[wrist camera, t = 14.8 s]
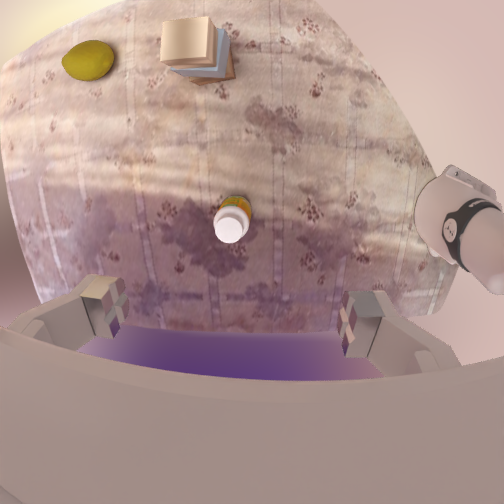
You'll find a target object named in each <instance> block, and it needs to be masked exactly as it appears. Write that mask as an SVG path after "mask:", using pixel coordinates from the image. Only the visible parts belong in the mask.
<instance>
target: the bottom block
mask: <svg viewBox="0 0 504 504" xmlns="http://www.w3.org/2000/svg"><path fill="white" fill-rule="evenodd" d="M230 79H236V78H235V72H234V66H233V60H232V54H231V48H229V54H228V60H227V67H226V73H225V78H214V77H189V80H190V81H191V82H193V83H195V84H197V85H199V86H200V85H204V84H209V83H214V82H219V81H224V80H230Z"/></svg>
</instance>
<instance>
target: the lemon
mask: <svg viewBox="0 0 504 504" xmlns="http://www.w3.org/2000/svg"><path fill="white" fill-rule="evenodd" d="M113 61H114V54H113V52H112V49H111V48H110V47H109V46H108V45H107V44H105V43H103V42H101V41H98V40H89V41H85V42H82V43H80V44H78V45H76V46H75V47H73V48H72V49H71V50H70V51H69V52H68V53H67V54H66V55H65V56H64V57H63V58H62V65H63V67H64V69H65V70H66V72H67V73H68V74H69V75H70V76H71V77H73V78H75V79H77V80H82V81H93V80H97V79H99V78H101V77H102V76H104V75H105V74H106V73H107V72H108V71H109V69H110V68H111V66H112V64H113Z"/></svg>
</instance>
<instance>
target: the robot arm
mask: <svg viewBox="0 0 504 504" xmlns="http://www.w3.org/2000/svg"><path fill="white" fill-rule="evenodd" d="M455 173H457V174H456V175H455ZM414 220H415V226H416V229H417V232H418V234H419V235H420V237H421V238H422V239H423V240H424V241H425V243H426V244H427V247H428V251H429V253H430V254H431V255H432V256H433V257H437V256H441V257H442V258H444V259H445V260H446V261H447V262H449V263H450V264H452V265H454V264H458V265H459V266H460V267H462V268H463V269H464V270H466V271H467V272H470V273H472V274H473V275H474V276H475V277H476V278H477V279H478V280H479V281H480V282H481V283H482V285H483V286H484V287H485V288H486V289H487V290H488V291H489V292H491V293H493V294H497V295H504V213H503V212H502V206H501V204H500V203H499V202H497V201H496V193H495V190H494V189H492V188H491V187H489V186H488V185H486V184H485V183H483V182H481V181H480V180H478V179H476V178H475V177H473V176H471V175H469V174H468V173H466V172H464V171H462V170H461V169H459V168H457V167H455V166H453V165H449V166H448V167H446V169H445V170H444V171H443V173H442V174H441V175H440V176H439V177H437V178H435V179H433V180H432V181H431V182H429V183H428V184H427V185H426V186H425V188H424V189H423V190H422V192H421V193H420V195H419V197H418V200H417V203H416V207H415V213H414ZM125 288H126V287H125V283H124V280H123V279H122V278H121V277H113V276H105V275H97V274H88V275H87V276H86V277H85V278H84V279H83V280H82V281H81V282H80V283H79V284H78V285H77V286H76V287H75V288H74V289H73V290H72V291H71V292H70V293H69V294H64V295H62V296H60V297H57V298H55V299H53V300H50V301H48V302H46V303H43V304H41V305H39V306H37V307H34V308H32V309H30V310H28V311H25V312H23V313H21V314H20V315H19V316H18V317H17V318H16V319H15V320H14V321H13V322H12V323H11V324H10V325H9V326H8V327H7V328H4V327H1V326H0V504H504V356H503V357H499V358H495V359H491V360H487V361H483V362H478V363H474V364H469V365H465V366H461V364H460V362H459V360H458V358H457V357H456V355H455V353H454V351H453V350H452V348H451V347H450V346H449V345H447V344H446V343H444V342H443V341H441V340H440V339H438V338H436V337H435V336H433V335H432V334H430V333H429V332H427V331H425V330H424V329H422V328H421V327H419V326H417V325H416V324H414V323H413V322H411V321H409V320H408V319H406V318H405V317H403V316H399V315H398V313H397V311H396V310H395V308H394V306H393V304H392V302H391V301H390V299H389V297H388V295H387V294H386V292H385V291H345V292H344V295H343V298H342V303H343V306H344V307H343V308H342V309H341V310H340V311H339V316H338V325H337V327H338V333H339V336H340V337H341V338H342V339H343V341H342V349H343V353H344V356H345V358H362V357H367V359H368V360H369V361H370V362H371V363H372V364H373V365H374V366H375V367H376V368H377V369H378V370H379V371H380V372H381V373H382V374H383V375H384V376H385V377H382V378H371V379H357V380H337V381H274V380H252V379H237V378H224V377H213V376H205V375H196V374H188V373H180V372H173V371H167V370H160V369H154V368H149V367H142V366H137V365H133V364H128V363H122V362H118V361H114V360H109V359H105V358H100V357H96V356H92V355H88V354H84V353H81V352H77V351H76V350H78V349H79V348H80V347H82V346H83V345H85V344H86V343H87V342H89V341H90V340H92V339H93V338H95V336H97V337H103V338H110V339H114V337H115V336H116V334H117V333H118V331H119V330H120V325H119V324H120V323H122V322H123V321H125V320H126V318H127V316H128V313H129V300H128V297H127V296H126V295H125V294H124V290H125Z"/></svg>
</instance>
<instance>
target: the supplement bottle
mask: <svg viewBox="0 0 504 504" xmlns="http://www.w3.org/2000/svg"><path fill="white" fill-rule="evenodd" d="M251 213H252V209H251V205H250V203H249V202H248V201H247V200H246V199H245V198H243V197H241V196H230V197H228V198H227V199H225V200H224V201H223V203H222V204H221V206H220V208H219V210H218V211H217V213H216V215H215V218H214V228H215V233H216V235H217V237H218V238H219V239H220V240H221V241H223V242H225V243H234V242H236V241H238V240H239V239H240V238H241V237H243V236H244V235H245V234H246V232H247V230H248V228H249V223H250V218H251Z"/></svg>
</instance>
